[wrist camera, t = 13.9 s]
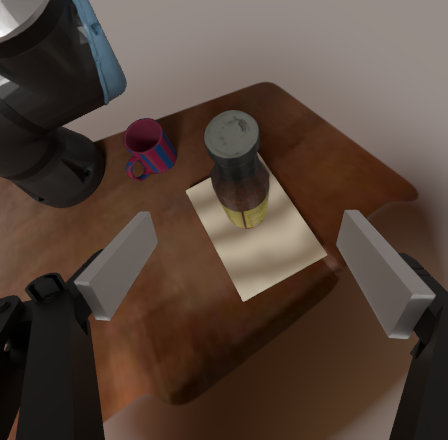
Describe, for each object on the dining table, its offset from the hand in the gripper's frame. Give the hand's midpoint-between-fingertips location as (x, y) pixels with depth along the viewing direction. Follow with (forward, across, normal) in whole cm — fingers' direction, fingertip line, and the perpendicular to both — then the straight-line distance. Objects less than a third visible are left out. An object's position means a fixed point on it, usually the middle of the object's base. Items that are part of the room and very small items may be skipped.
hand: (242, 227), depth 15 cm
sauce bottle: (+18, 0, -8) cm, 20 cm away
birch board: (+18, +1, -11) cm, 21 cm away
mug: (+26, -18, -3) cm, 32 cm away
